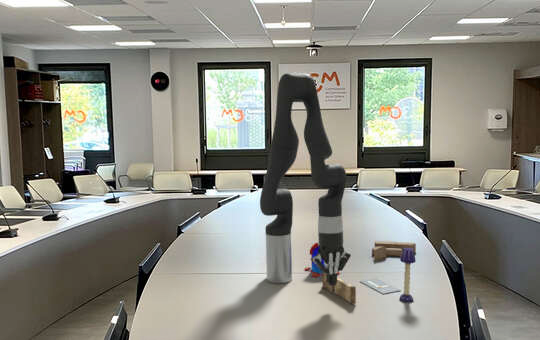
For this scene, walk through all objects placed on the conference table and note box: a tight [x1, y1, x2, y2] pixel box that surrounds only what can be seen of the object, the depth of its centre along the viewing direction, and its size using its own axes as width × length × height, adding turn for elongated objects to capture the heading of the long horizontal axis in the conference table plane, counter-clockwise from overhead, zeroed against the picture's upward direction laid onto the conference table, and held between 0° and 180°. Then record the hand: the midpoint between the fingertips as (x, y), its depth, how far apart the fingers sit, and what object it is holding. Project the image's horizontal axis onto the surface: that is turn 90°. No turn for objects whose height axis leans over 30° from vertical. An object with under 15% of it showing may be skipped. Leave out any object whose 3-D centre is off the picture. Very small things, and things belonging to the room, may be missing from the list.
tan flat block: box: [321, 272, 334, 293], centre depth 164 cm, size 7×2×6 cm, turn 22°
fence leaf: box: [332, 276, 357, 305], centre depth 155 cm, size 13×2×5 cm, turn 22°
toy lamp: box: [399, 248, 416, 303], centre depth 151 cm, size 5×5×17 cm
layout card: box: [359, 277, 402, 295], centre depth 165 cm, size 14×7×1 cm, turn 22°
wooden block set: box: [371, 240, 417, 262], centre depth 201 cm, size 17×6×18 cm
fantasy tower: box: [303, 241, 341, 279], centre depth 182 cm, size 12×12×12 cm
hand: (332, 285), depth 148 cm, fingers closed
